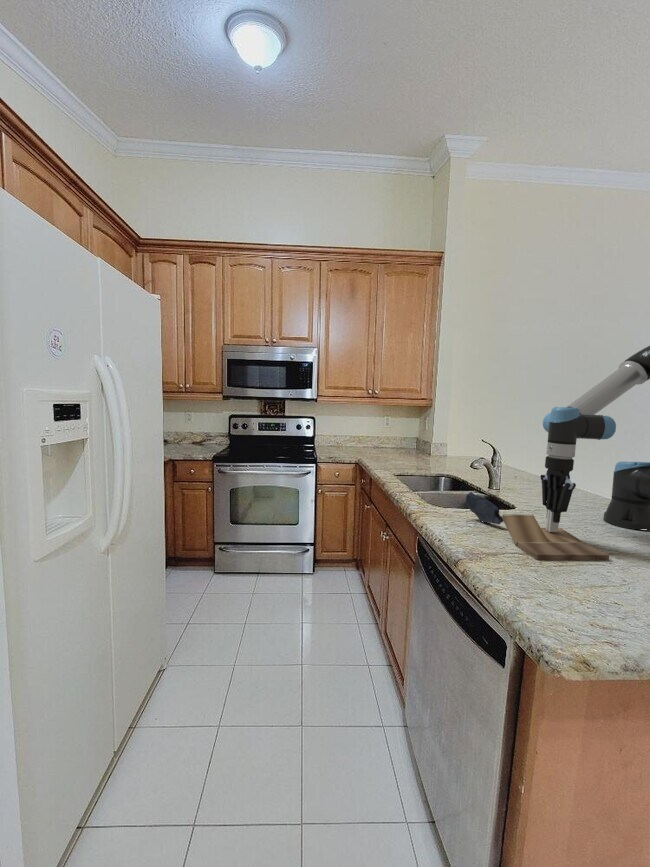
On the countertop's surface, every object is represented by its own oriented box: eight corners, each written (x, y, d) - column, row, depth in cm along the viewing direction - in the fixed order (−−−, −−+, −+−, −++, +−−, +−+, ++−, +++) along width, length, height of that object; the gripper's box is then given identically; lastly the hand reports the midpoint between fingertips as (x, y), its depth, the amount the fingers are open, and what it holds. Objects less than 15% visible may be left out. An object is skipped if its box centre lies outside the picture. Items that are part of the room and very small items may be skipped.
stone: (506, 526, 131) (508, 497, 130) (501, 530, 127) (503, 500, 126) (466, 516, 140) (467, 490, 139) (459, 520, 135) (461, 492, 135)
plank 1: (531, 517, 122) (533, 514, 121) (546, 544, 114) (548, 541, 113) (501, 517, 121) (503, 514, 120) (515, 544, 113) (517, 541, 112)
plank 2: (560, 532, 124) (560, 527, 124) (583, 546, 114) (583, 542, 114) (531, 531, 123) (532, 527, 123) (552, 546, 113) (552, 541, 113)
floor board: (584, 547, 114) (584, 542, 114) (608, 560, 105) (609, 554, 105) (517, 547, 112) (517, 541, 112) (536, 560, 103) (537, 554, 103)
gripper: (534, 453, 124) (527, 523, 127) (563, 460, 111) (555, 538, 113) (556, 454, 125) (548, 524, 127) (587, 461, 112) (578, 539, 114)
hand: (551, 530), depth 120 cm, fingers closed
